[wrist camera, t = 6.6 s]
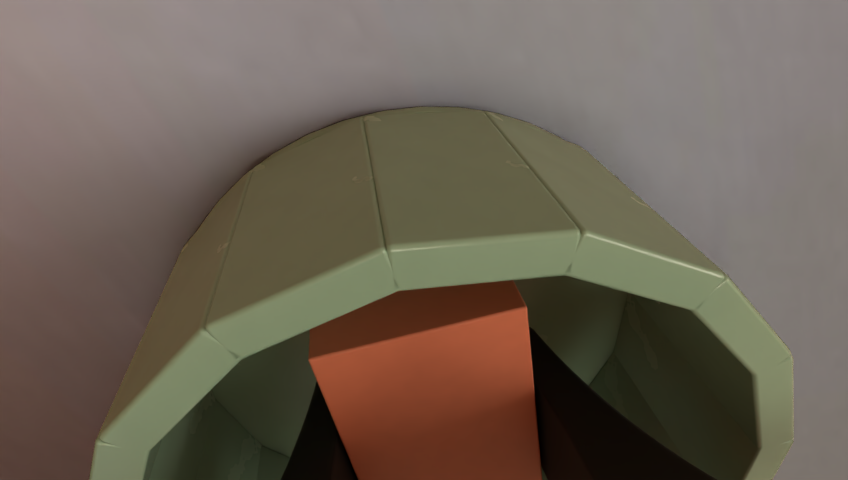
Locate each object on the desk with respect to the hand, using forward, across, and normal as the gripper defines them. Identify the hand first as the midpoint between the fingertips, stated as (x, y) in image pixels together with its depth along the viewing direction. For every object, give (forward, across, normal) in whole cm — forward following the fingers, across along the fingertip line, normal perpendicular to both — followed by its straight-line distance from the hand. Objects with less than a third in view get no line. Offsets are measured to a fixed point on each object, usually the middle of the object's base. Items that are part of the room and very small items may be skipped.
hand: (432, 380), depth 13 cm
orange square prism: (+1, 0, 0) cm, 1 cm away
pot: (+2, 0, 0) cm, 2 cm away
